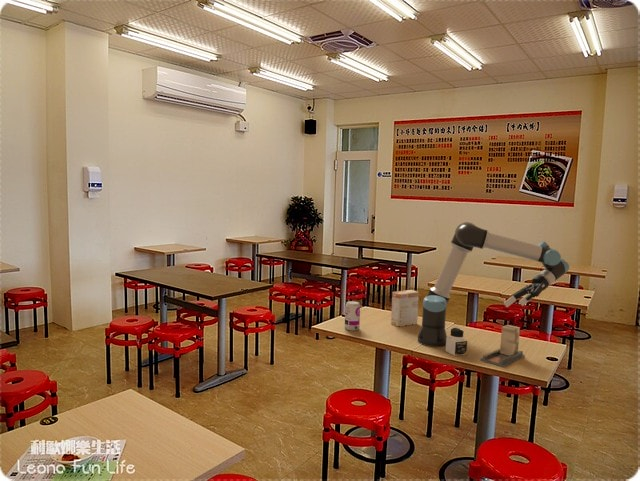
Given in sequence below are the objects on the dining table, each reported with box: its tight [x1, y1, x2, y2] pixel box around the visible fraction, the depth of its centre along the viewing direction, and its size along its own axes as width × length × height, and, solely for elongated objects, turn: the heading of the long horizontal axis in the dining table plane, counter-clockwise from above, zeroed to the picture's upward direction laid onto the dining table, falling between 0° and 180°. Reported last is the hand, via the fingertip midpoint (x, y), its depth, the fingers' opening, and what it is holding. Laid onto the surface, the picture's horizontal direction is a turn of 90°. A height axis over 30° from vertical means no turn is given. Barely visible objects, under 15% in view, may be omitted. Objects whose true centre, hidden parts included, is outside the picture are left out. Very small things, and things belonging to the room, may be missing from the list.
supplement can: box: [344, 300, 361, 332], centre depth 261 cm, size 8×8×15 cm
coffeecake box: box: [390, 289, 420, 327], centre depth 275 cm, size 15×7×20 cm, turn 120°
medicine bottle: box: [445, 327, 468, 357], centre depth 226 cm, size 7×7×12 cm
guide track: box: [480, 348, 526, 368], centre depth 220 cm, size 22×11×2 cm, turn 133°
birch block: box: [499, 324, 521, 356], centre depth 224 cm, size 6×6×13 cm
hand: (512, 304), depth 230 cm, fingers open, 13 cm apart
